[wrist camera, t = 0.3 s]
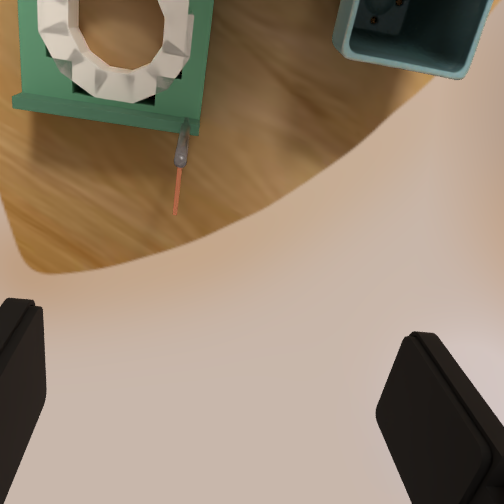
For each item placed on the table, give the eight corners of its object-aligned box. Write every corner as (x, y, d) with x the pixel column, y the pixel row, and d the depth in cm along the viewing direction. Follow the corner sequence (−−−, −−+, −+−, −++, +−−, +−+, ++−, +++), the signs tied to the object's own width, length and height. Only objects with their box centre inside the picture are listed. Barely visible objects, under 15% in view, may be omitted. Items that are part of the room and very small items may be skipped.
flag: (183, 109, 38) (174, 154, 25) (192, 110, 38) (187, 156, 25) (179, 152, 39) (168, 214, 27) (187, 153, 39) (180, 216, 27)
